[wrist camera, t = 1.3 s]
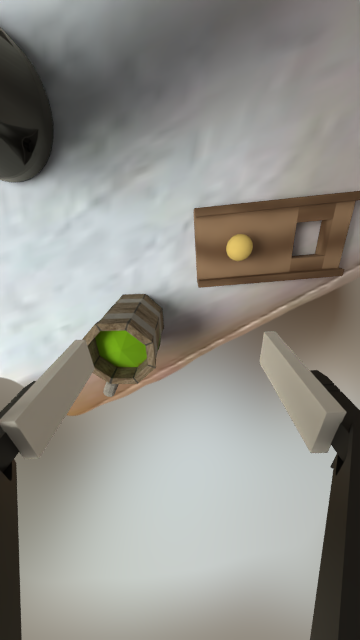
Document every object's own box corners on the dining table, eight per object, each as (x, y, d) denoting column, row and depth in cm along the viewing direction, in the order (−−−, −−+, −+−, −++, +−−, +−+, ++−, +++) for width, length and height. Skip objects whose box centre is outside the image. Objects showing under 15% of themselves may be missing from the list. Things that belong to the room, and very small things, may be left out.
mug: (116, 283, 34) (84, 308, 23) (173, 304, 36) (168, 336, 25) (100, 351, 40) (69, 396, 30) (148, 366, 42) (136, 414, 31)
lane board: (193, 210, 29) (194, 208, 26) (344, 195, 28) (365, 190, 25) (197, 282, 34) (198, 287, 30) (326, 271, 32) (342, 275, 29)
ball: (224, 234, 28) (229, 235, 25) (248, 232, 28) (257, 232, 25) (223, 260, 30) (228, 263, 26) (247, 258, 29) (255, 261, 26)
